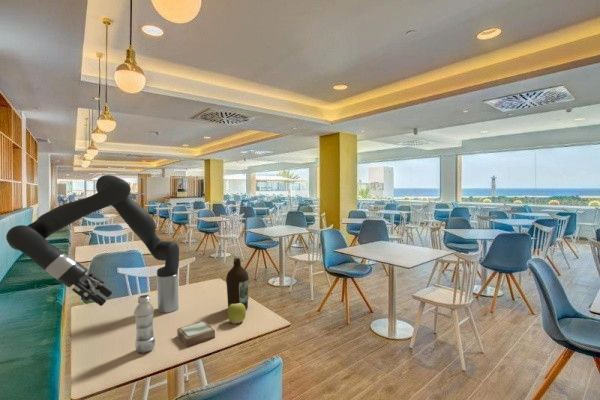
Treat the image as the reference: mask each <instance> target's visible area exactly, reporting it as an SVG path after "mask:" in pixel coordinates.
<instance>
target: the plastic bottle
mask: <svg viewBox="0 0 600 400" xmlns="http://www.w3.org/2000/svg"><path fill="white" fill-rule="evenodd" d="M150 301H151V299H150V295H149V294H143V295H139V296H138V298H137V303H138V305H137V306H136V307H135V309H134V312H133V315H134V321H135V326H136V337H135V338H136V339H135V344H134V346H135V350H136V351H137V353H140V354H143V353H148V352H150V351H151V350H153V349H154V348H155V345H156V336H155V335H154V313H155V312H154V311H155V308H154V306H153V305H152V304H151V303H150Z"/></svg>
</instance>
